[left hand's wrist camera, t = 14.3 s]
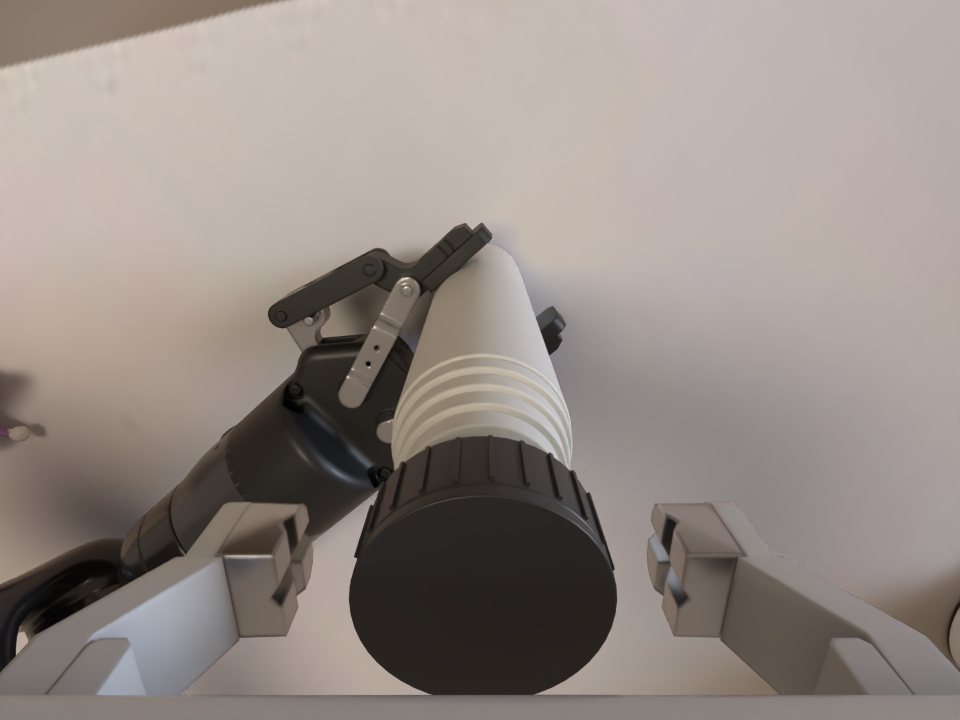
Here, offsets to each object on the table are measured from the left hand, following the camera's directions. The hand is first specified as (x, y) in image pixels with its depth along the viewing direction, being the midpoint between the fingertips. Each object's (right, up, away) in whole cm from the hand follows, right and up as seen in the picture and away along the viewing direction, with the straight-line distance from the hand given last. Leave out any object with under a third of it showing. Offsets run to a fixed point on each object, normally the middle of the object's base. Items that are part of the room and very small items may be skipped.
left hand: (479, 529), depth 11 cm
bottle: (0, +8, +21) cm, 22 cm away
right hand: (+2, +7, +15) cm, 16 cm away
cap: (0, -1, -2) cm, 2 cm away
